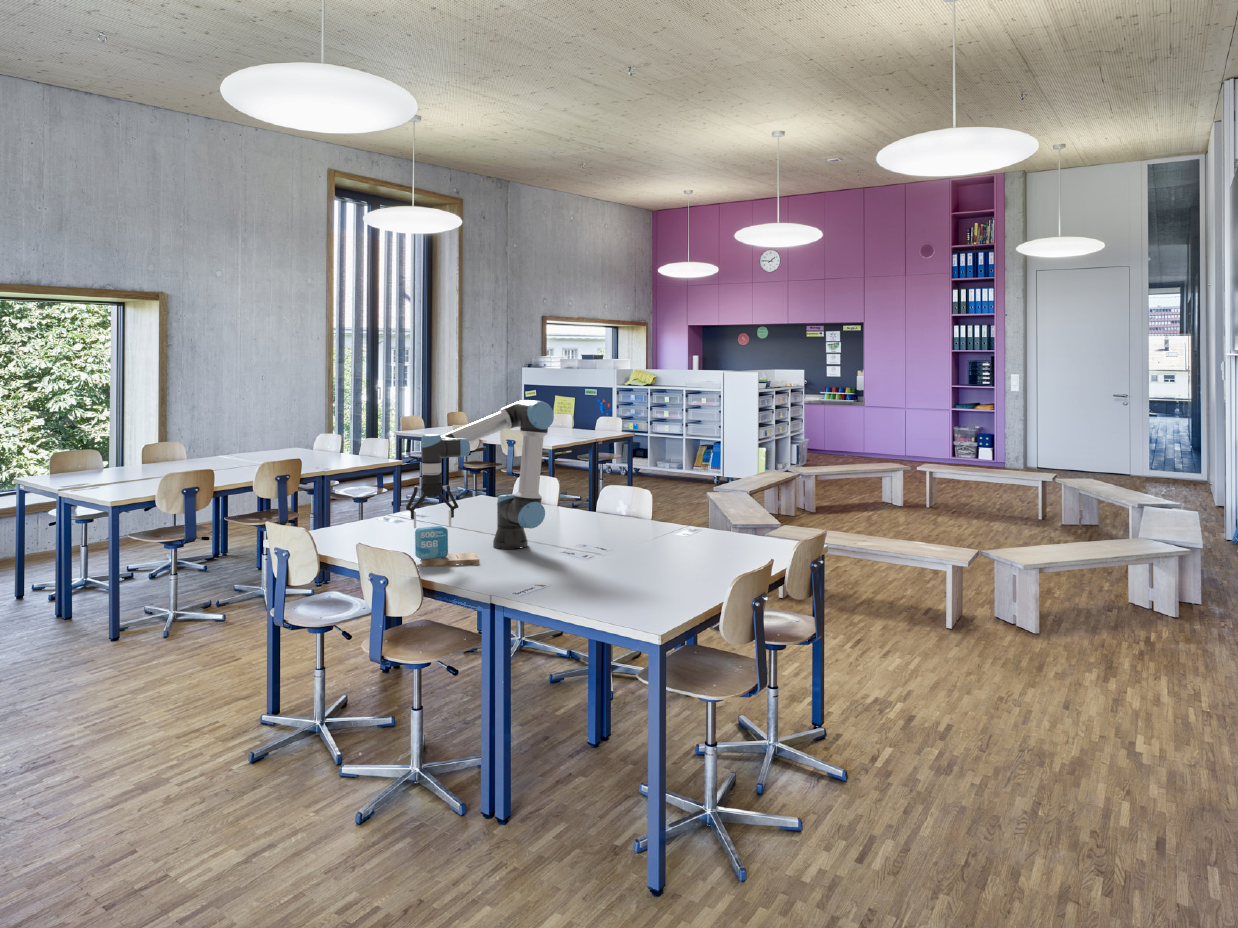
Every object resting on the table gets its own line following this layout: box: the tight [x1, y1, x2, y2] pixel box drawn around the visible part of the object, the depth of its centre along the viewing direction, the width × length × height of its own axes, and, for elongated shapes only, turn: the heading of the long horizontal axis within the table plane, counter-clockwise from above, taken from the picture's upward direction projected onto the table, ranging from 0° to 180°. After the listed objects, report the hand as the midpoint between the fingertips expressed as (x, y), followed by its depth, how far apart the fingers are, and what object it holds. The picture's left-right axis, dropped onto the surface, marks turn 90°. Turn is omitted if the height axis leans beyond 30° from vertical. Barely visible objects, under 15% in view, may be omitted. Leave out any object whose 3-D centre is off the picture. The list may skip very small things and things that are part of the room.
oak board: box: [420, 552, 480, 567], centre depth 333 cm, size 22×13×2 cm, turn 107°
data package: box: [414, 525, 449, 561], centre depth 330 cm, size 12×4×12 cm, turn 122°
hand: (432, 526), depth 330 cm, fingers open, 13 cm apart
